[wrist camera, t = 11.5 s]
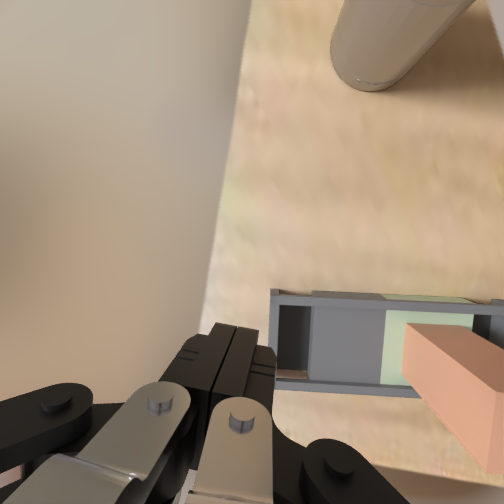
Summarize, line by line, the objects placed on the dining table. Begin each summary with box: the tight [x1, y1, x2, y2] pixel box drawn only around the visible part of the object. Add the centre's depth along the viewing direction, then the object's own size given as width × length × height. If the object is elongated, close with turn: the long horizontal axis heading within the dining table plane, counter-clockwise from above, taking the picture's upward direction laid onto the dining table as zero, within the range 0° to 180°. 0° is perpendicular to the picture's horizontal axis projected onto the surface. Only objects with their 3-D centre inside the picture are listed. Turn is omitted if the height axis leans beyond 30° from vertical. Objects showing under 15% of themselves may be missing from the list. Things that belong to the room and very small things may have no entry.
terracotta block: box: [401, 323, 504, 474], centre depth 28 cm, size 6×6×14 cm
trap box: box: [268, 289, 504, 399], centre depth 36 cm, size 11×27×3 cm, turn 88°
